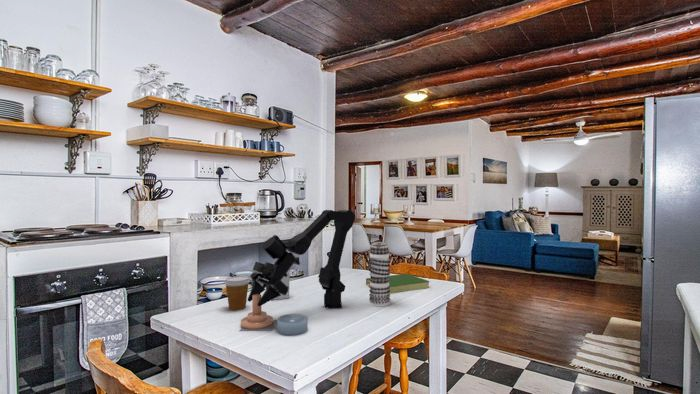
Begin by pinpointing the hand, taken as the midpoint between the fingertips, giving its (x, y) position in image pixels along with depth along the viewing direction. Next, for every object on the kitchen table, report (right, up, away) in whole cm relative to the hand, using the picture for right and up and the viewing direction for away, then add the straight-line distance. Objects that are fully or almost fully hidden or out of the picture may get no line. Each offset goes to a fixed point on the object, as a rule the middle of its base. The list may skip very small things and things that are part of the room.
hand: (253, 303), depth 130 cm
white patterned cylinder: (+46, -7, +26) cm, 53 cm away
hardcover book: (+56, -8, +53) cm, 78 cm away
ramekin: (+14, -8, -5) cm, 17 cm away
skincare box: (+2, -8, +35) cm, 36 cm away
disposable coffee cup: (-11, -8, +20) cm, 24 cm away
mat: (+2, -8, 0) cm, 8 cm away
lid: (+1, -7, +1) cm, 8 cm away
